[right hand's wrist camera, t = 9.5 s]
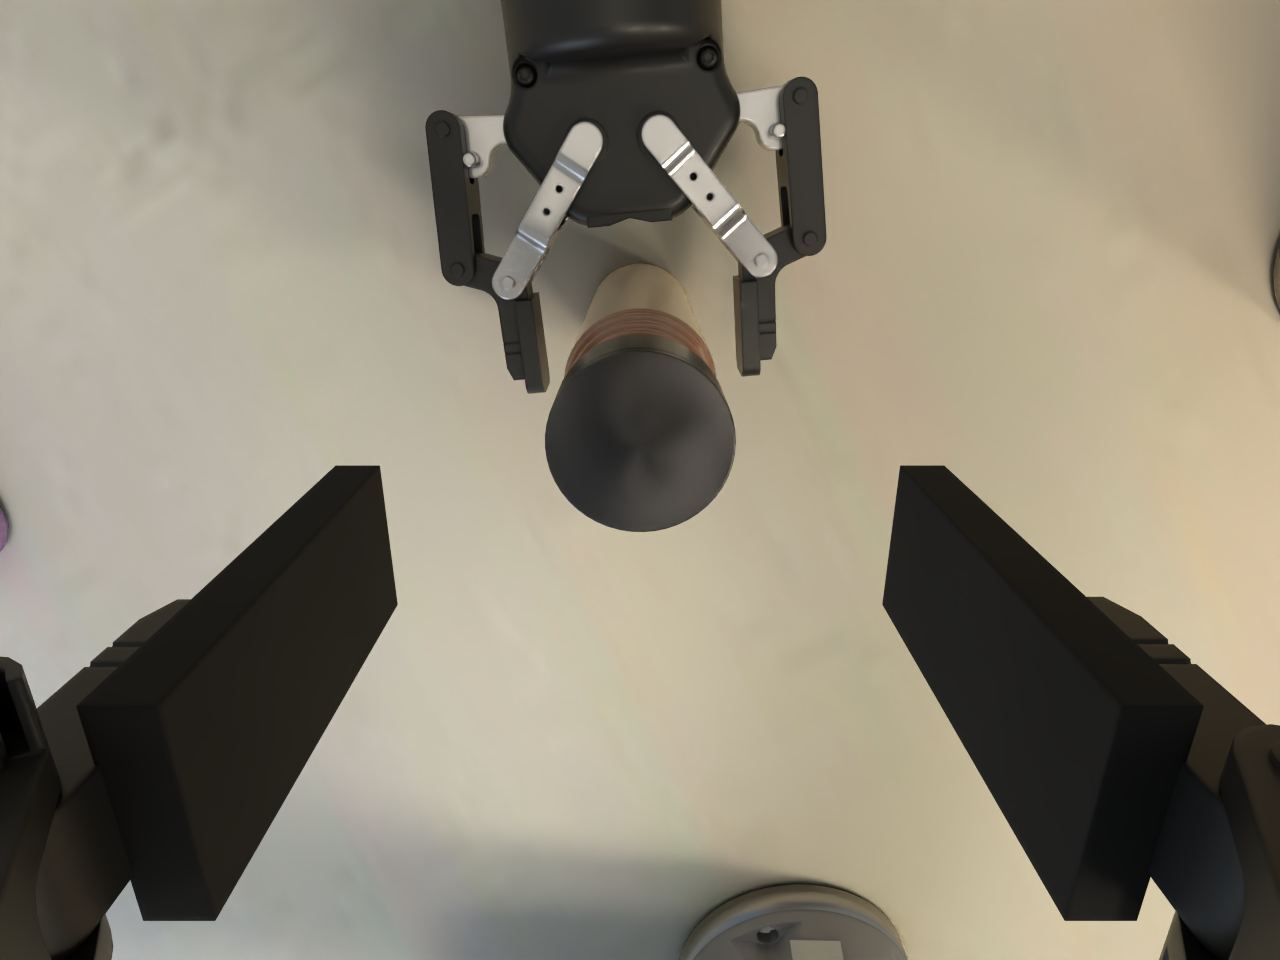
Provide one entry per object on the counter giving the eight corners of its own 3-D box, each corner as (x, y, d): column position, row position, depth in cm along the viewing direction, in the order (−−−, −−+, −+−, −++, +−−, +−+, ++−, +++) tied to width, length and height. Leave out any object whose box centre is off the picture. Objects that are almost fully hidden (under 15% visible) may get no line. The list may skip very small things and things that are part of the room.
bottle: (593, 363, 38) (550, 531, 20) (588, 264, 36) (536, 346, 18) (689, 361, 38) (736, 526, 20) (688, 261, 36) (739, 340, 18)
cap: (560, 501, 21) (551, 534, 19) (548, 336, 20) (537, 353, 18) (725, 497, 21) (734, 529, 19) (727, 331, 20) (737, 347, 18)
